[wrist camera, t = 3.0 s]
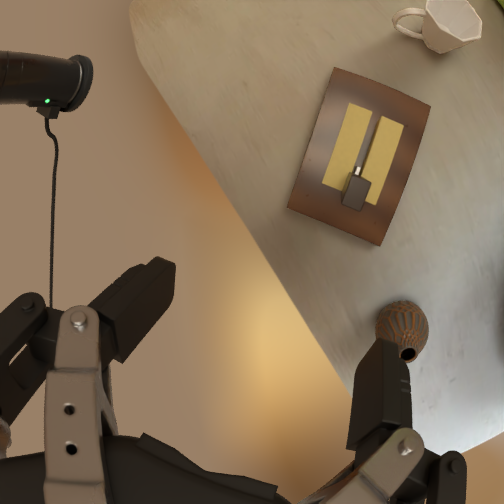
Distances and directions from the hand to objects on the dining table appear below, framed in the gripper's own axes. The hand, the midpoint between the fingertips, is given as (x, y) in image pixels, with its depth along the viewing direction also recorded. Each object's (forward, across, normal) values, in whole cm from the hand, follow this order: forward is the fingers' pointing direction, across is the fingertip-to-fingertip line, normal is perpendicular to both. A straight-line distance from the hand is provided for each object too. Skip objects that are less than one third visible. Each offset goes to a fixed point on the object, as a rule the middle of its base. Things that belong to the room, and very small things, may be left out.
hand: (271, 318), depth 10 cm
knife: (+25, +3, 0) cm, 25 cm away
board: (+27, +3, +3) cm, 27 cm away
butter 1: (+26, +2, +3) cm, 26 cm away
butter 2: (+25, +5, +3) cm, 26 cm away
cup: (+30, +8, +21) cm, 37 cm away
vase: (+23, +16, -14) cm, 31 cm away
